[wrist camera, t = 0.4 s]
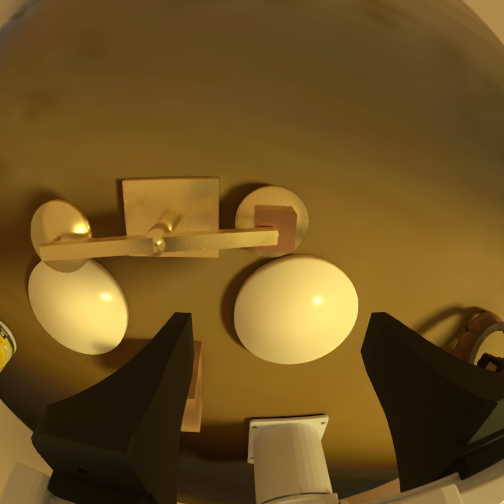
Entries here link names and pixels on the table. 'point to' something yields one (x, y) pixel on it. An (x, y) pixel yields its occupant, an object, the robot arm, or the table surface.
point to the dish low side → (295, 309)
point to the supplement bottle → (6, 345)
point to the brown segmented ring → (480, 341)
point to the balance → (172, 223)
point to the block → (195, 393)
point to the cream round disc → (80, 306)
